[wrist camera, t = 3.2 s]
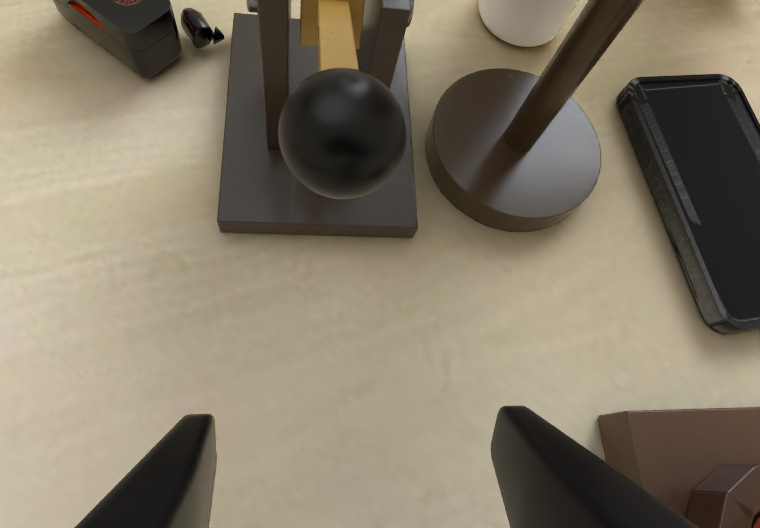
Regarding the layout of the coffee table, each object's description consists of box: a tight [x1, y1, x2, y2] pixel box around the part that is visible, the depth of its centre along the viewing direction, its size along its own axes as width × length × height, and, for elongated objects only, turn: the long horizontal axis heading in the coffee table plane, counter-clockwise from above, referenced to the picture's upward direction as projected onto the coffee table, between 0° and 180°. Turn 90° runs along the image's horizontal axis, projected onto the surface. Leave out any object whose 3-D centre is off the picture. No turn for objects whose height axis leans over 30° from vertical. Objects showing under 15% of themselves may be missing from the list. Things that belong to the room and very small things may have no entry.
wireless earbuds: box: [53, 0, 224, 77], centre depth 25 cm, size 5×7×3 cm, turn 53°
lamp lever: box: [278, 0, 406, 199], centre depth 16 cm, size 12×3×3 cm, turn 3°
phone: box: [617, 74, 760, 334], centre depth 28 cm, size 8×1×15 cm
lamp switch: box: [217, 0, 418, 238], centre depth 22 cm, size 12×9×10 cm
